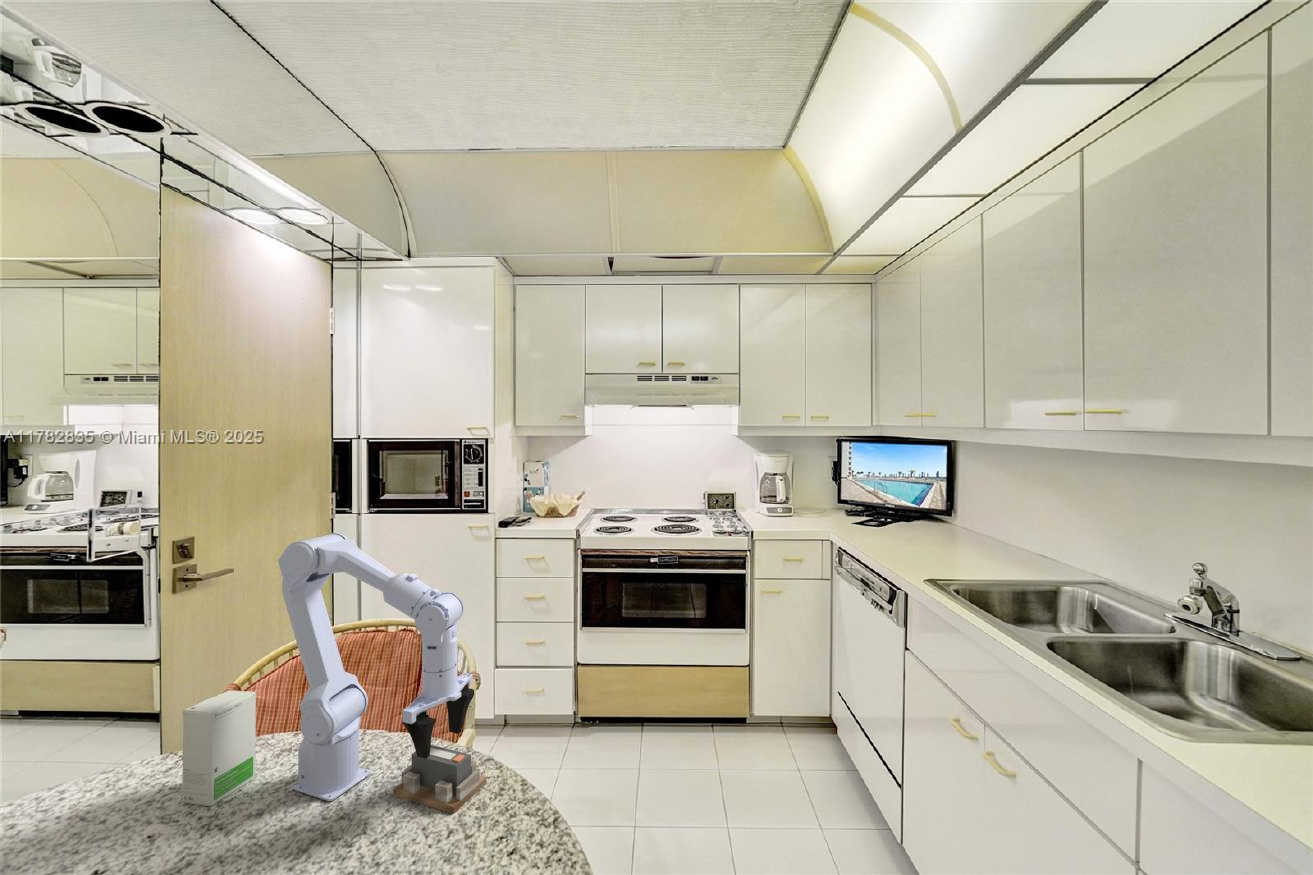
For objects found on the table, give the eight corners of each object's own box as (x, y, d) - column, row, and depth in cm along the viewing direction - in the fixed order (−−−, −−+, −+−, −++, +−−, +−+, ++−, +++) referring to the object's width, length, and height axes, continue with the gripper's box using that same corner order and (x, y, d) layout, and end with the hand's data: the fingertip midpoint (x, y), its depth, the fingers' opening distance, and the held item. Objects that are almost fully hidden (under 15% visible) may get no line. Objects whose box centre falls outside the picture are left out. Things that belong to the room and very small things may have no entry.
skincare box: (209, 808, 85) (209, 714, 85) (178, 803, 86) (178, 710, 87) (258, 776, 93) (258, 690, 94) (228, 772, 95) (229, 687, 95)
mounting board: (393, 795, 88) (393, 774, 88) (429, 767, 95) (429, 748, 95) (453, 813, 83) (453, 792, 83) (486, 782, 91) (486, 763, 91)
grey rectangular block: (411, 783, 89) (411, 752, 89) (426, 771, 93) (426, 742, 93) (457, 796, 86) (457, 764, 86) (471, 783, 89) (470, 753, 89)
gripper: (426, 688, 81) (425, 773, 81) (486, 653, 95) (486, 726, 95) (392, 681, 84) (392, 764, 84) (455, 648, 97) (455, 719, 97)
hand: (439, 743), depth 89 cm, fingers open, 7 cm apart
